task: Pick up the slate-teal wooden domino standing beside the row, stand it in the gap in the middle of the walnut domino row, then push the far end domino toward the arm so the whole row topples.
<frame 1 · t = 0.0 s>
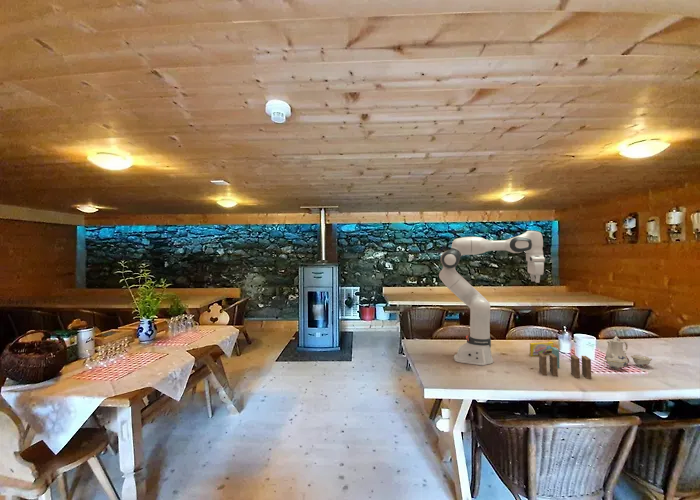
hand: (535, 281, 186), 48 cm above the table, tool pointing down, fingers open, 8 cm apart
domino 5: (543, 373, 171), on the table
candy box: (541, 355, 202), on the table
chinaware: (622, 366, 181), on the table
domino 4: (553, 374, 170), on the table
domino 2: (575, 376, 167), on the table
placed domino: (555, 366, 182), on the table
domino 1: (586, 376, 166), on the table
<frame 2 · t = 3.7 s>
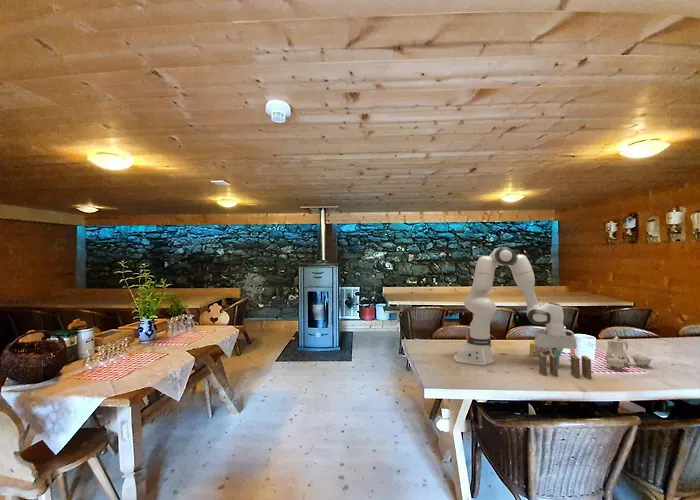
hand: (555, 355, 182), 6 cm above the table, tool pointing down, fingers closed on placed domino, 2 cm apart
placed domino: (555, 366, 182), on the table, touching gripper
everything else where it was.
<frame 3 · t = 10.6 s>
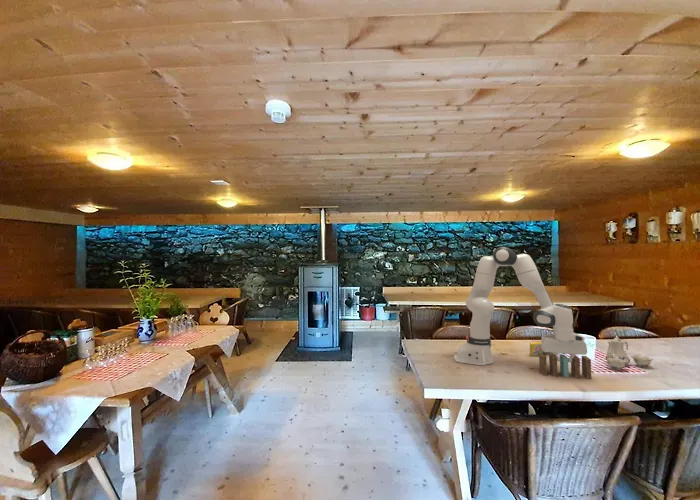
hand: (564, 361, 169), 7 cm above the table, tool pointing down, fingers open, 4 cm apart
domino 4: (553, 374, 170), on the table, touching gripper
domino 2: (575, 375, 167), on the table, touching gripper
placed domino: (564, 375, 169), on the table
everything else where it was.
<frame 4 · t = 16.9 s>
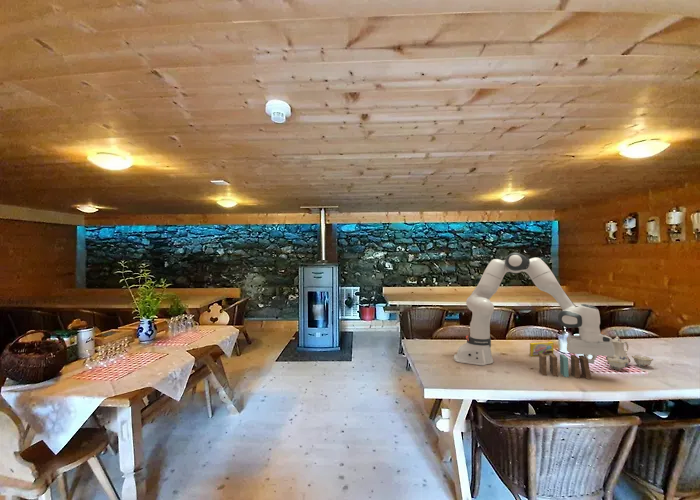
hand: (590, 363, 165), 7 cm above the table, tool pointing down, fingers closed
domino 4: (553, 374, 170), on the table
domino 2: (575, 376, 167), on the table
domino 1: (586, 376, 166), on the table, tilted 7°
everything else where it was.
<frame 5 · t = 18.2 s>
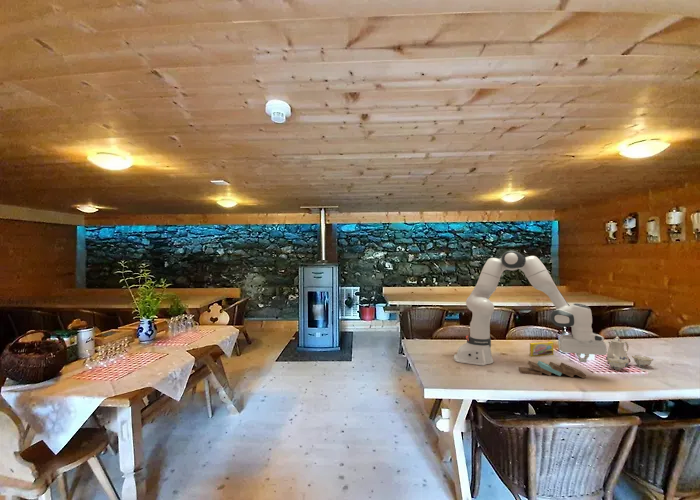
hand: (582, 361, 166), 8 cm above the table, tool pointing down, fingers closed
domino 5: (540, 372, 172), on the table, tilted 90°
domino 4: (549, 372, 171), point 1 cm above the table, tilted 69°, touching placed domino
domino 2: (571, 373, 168), point 1 cm above the table, tilted 67°, touching domino 1, placed domino
placed domino: (559, 372, 169), point 1 cm above the table, tilted 67°, touching domino 2, domino 4
domino 1: (582, 374, 166), point 1 cm above the table, tilted 67°, touching domino 2
everything else where it was.
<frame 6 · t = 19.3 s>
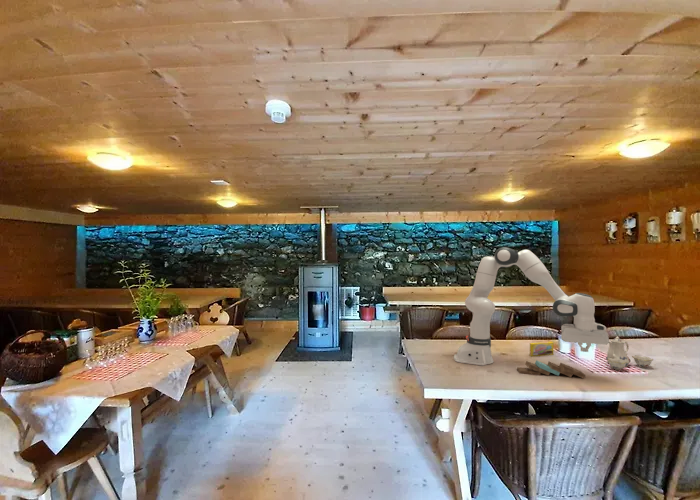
hand: (584, 351, 166), 13 cm above the table, tool pointing down, fingers closed
domino 5: (538, 372, 172), on the table, tilted 90°, touching domino 4
domino 4: (547, 371, 171), point 1 cm above the table, tilted 70°, touching domino 5, placed domino
placed domino: (556, 372, 170), point 1 cm above the table, tilted 67°, touching domino 2, domino 4
everything else where it was.
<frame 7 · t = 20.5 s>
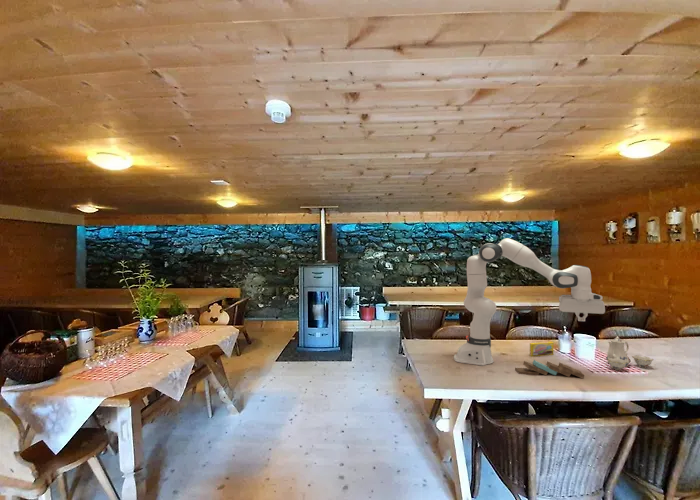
hand: (581, 321, 171), 28 cm above the table, tool pointing down, fingers closed
domino 4: (544, 371, 171), point 1 cm above the table, tilted 69°, touching domino 5, placed domino
domino 2: (568, 373, 168), point 1 cm above the table, tilted 68°, touching domino 1
placed domino: (553, 371, 171), point 1 cm above the table, tilted 65°, touching domino 4
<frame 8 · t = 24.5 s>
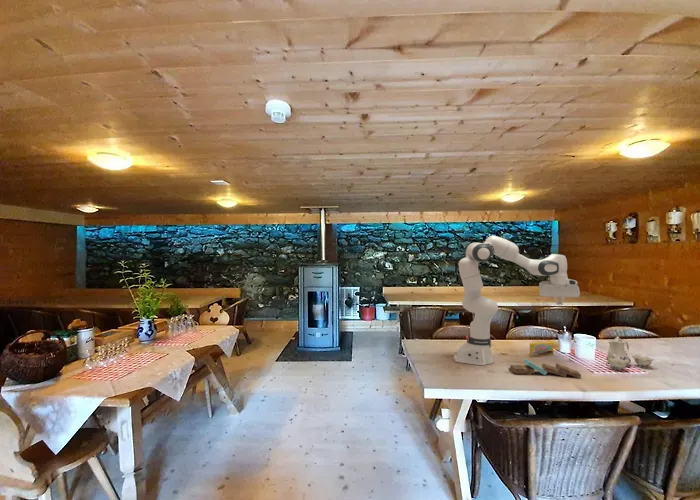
hand: (559, 304, 189), 34 cm above the table, tool pointing down, fingers closed
domino 5: (530, 372, 172), on the table, tilted 90°, touching domino 4
domino 4: (531, 368, 172), point 2 cm above the table, tilted 90°, touching domino 5, placed domino
domino 2: (564, 373, 169), point 1 cm above the table, tilted 76°, touching domino 1
placed domino: (543, 372, 171), point 1 cm above the table, tilted 59°, touching domino 4
domino 1: (578, 374, 166), point 1 cm above the table, tilted 72°, touching domino 2
everything else where it was.
at the end: domino 5 tilted 90°; placed domino tilted 56° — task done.
